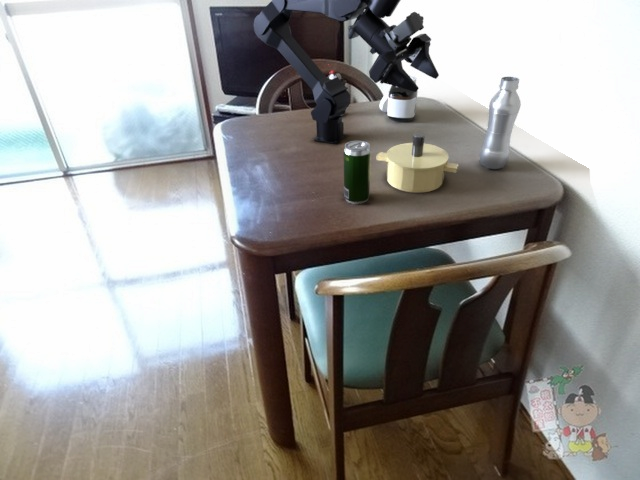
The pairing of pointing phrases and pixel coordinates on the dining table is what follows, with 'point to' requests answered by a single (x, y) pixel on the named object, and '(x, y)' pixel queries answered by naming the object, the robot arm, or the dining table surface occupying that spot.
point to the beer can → (357, 171)
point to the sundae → (334, 75)
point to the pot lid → (417, 155)
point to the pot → (416, 176)
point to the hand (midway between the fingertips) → (427, 83)
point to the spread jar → (400, 103)
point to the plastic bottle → (500, 124)
